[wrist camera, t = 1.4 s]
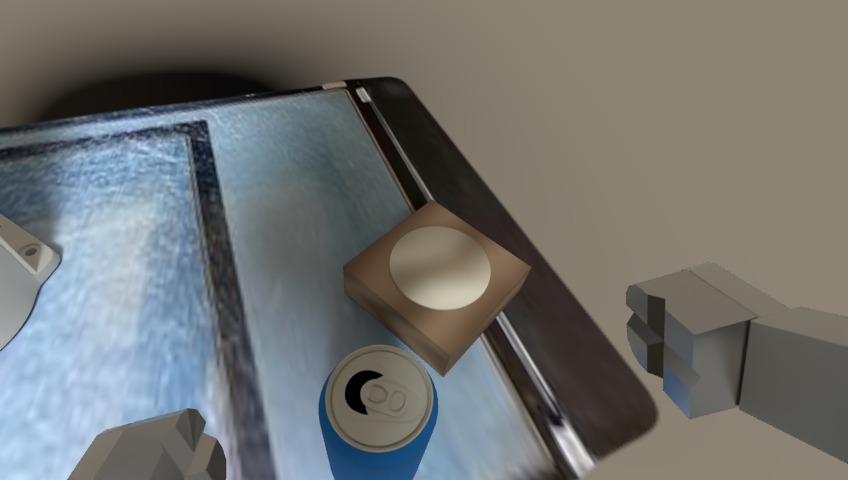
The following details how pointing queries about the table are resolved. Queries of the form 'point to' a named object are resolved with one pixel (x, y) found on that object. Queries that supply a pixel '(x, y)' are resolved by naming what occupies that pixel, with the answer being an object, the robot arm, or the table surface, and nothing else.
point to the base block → (435, 283)
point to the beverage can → (377, 414)
